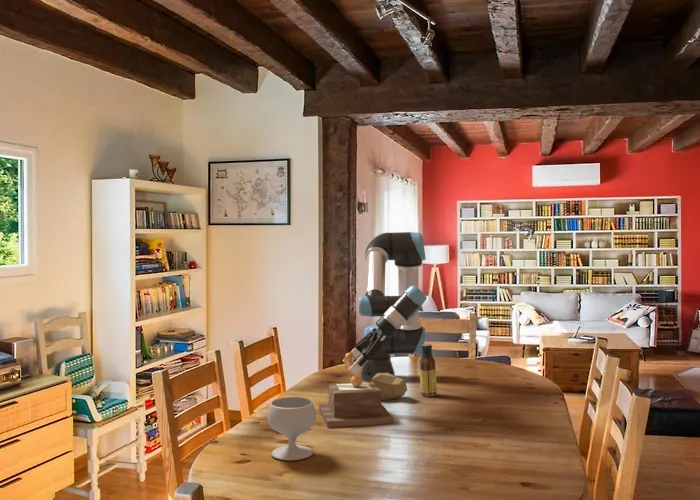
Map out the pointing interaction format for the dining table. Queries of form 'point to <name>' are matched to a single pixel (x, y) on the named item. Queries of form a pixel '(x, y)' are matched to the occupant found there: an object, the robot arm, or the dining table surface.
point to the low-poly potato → (390, 385)
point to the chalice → (291, 425)
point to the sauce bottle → (427, 372)
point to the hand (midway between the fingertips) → (348, 367)
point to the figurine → (356, 379)
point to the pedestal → (354, 406)
